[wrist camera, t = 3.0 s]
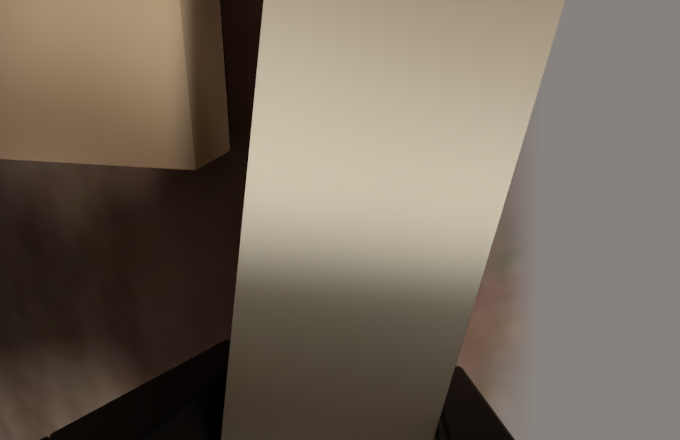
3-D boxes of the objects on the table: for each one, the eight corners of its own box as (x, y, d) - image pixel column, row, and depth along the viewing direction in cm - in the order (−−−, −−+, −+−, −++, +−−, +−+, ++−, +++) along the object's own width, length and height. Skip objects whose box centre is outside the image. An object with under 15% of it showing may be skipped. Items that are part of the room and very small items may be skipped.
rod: (364, 585, 13) (342, 741, 10) (249, 549, 13) (196, 690, 10) (535, -42, 7) (591, -86, 5) (336, -75, 8) (276, -132, 5)
